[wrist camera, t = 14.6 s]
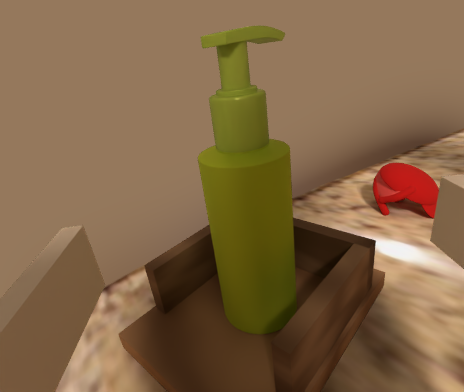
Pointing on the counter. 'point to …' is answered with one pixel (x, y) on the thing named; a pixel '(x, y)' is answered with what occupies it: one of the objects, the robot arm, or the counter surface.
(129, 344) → the u rest
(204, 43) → the soap dispenser
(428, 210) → the cap
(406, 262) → the counter surface
